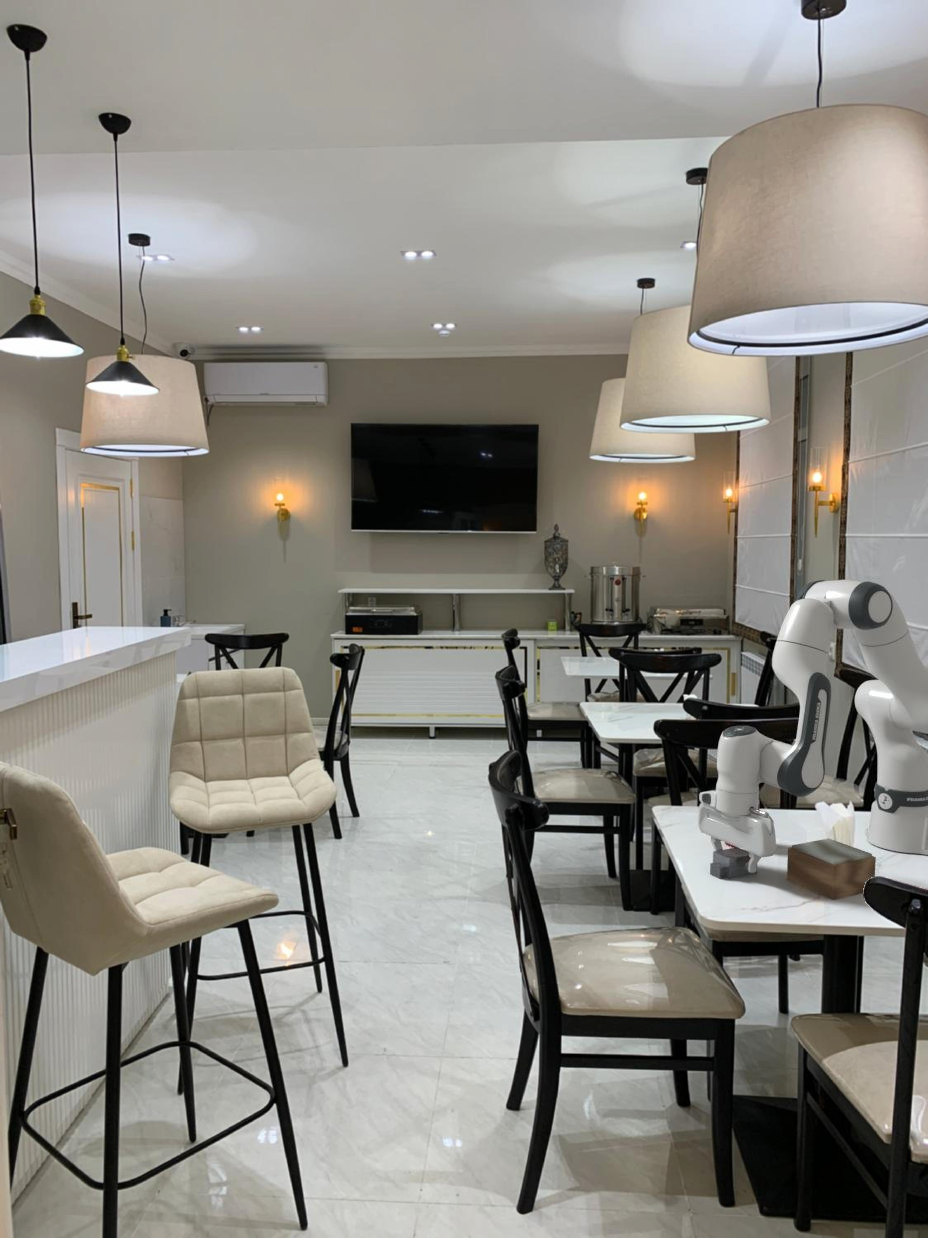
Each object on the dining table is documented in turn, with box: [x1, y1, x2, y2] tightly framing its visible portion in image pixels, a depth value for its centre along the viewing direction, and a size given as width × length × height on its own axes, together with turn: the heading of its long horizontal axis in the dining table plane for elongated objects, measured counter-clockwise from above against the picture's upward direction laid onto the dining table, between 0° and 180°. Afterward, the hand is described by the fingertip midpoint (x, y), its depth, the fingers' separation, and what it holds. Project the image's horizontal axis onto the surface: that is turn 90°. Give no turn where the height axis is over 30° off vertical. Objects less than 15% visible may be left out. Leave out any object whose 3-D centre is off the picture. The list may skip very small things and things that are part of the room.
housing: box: [709, 847, 758, 880], centre depth 192 cm, size 10×5×4 cm, turn 116°
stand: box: [786, 838, 877, 901], centre depth 185 cm, size 12×12×8 cm
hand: (734, 864), depth 192 cm, fingers open, 8 cm apart
